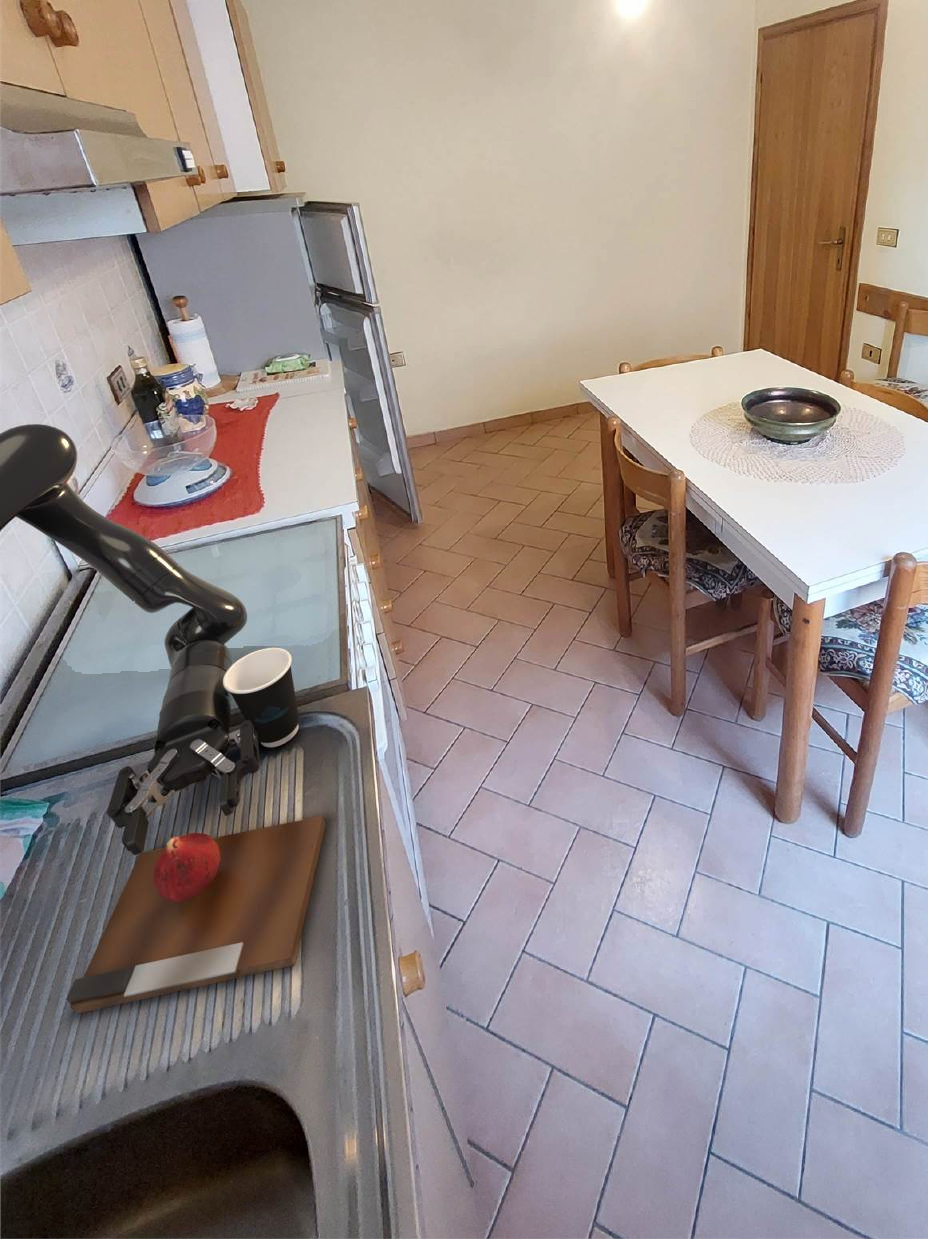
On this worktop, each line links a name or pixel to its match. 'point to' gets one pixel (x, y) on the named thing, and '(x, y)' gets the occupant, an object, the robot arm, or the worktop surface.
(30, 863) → the worktop surface
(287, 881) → the cutting board
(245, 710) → the dixie cup
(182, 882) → the onion
